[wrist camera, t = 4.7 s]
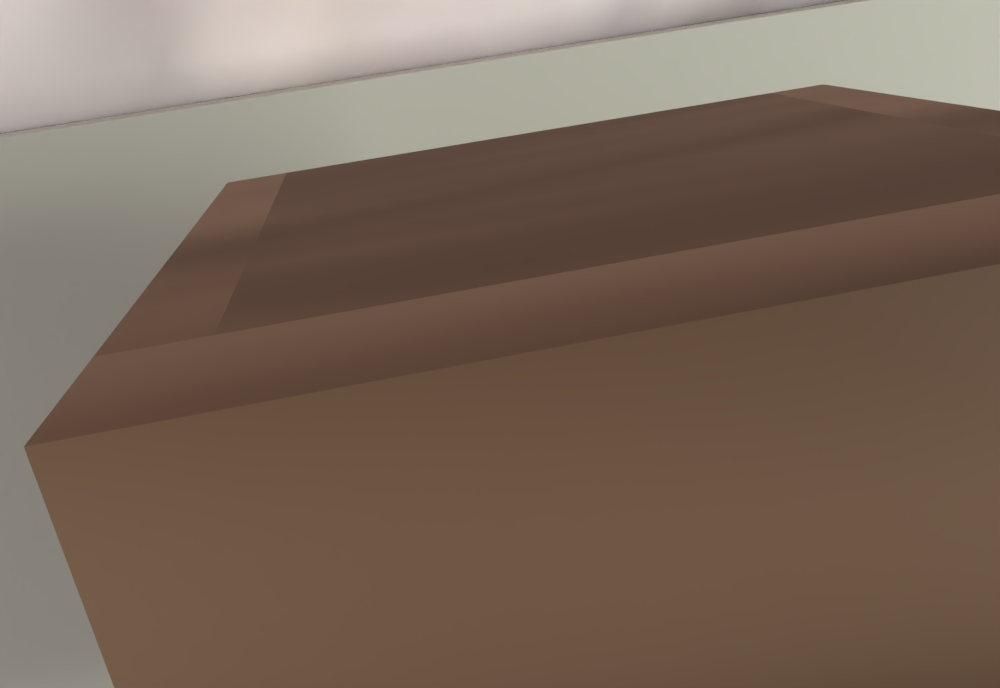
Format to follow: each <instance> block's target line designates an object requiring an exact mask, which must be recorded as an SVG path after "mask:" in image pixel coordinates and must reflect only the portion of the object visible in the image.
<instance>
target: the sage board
mask: <svg viewBox="0 0 1000 688" xmlns="http://www.w3.org/2000/svg"><path fill="white" fill-rule="evenodd" d="M822 84H825V85H831V86H838V87H845V88H851V89H858V90H865V91H871V92H878V93H885V94H891V95H898V96H905V97H911V98H918V99H925V100H932V101H938V102H945V103H952V104H958V105H965V106H972V107H978V108H985V109H992V110H998V111H1000V0H846V1H839V2H833V3H827V4H820V5H814V6H808V7H801V8H795V9H789V10H782V11H776V12H770V13H763V14H757V15H751V16H744V17H738V18H732V19H725V20H719V21H713V22H706V23H700V24H694V25H687V26H681V27H675V28H668V29H662V30H656V31H649V32H643V33H637V34H630V35H624V36H618V37H611V38H605V39H599V40H592V41H586V42H580V43H573V44H567V45H561V46H554V47H548V48H542V49H535V50H529V51H523V52H516V53H510V54H504V55H497V56H491V57H485V58H478V59H472V60H466V61H459V62H453V63H447V64H440V65H434V66H428V67H421V68H415V69H409V70H402V71H396V72H390V73H383V74H377V75H371V76H364V77H358V78H352V79H345V80H339V81H333V82H326V83H320V84H314V85H307V86H301V87H295V88H288V89H282V90H276V91H269V92H263V93H257V94H250V95H244V96H238V97H231V98H225V99H219V100H212V101H206V102H200V103H193V104H187V105H181V106H174V107H168V108H162V109H155V110H149V111H143V112H136V113H130V114H124V115H117V116H111V117H105V118H98V119H92V120H86V121H79V122H73V123H67V124H60V125H54V126H48V127H41V128H35V129H29V130H22V131H16V132H10V133H3V134H0V688H114V686H113V683H112V680H111V678H110V675H109V672H108V670H107V667H106V664H105V662H104V659H103V656H102V654H101V651H100V648H99V646H98V643H97V640H96V638H95V635H94V632H93V630H92V627H91V624H90V622H89V619H88V616H87V614H86V611H85V608H84V606H83V603H82V600H81V598H80V595H79V593H78V590H77V587H76V585H75V582H74V579H73V577H72V574H71V571H70V569H69V566H68V563H67V561H66V558H65V555H64V553H63V550H62V547H61V545H60V542H59V539H58V537H57V534H56V531H55V529H54V526H53V523H52V521H51V518H50V515H49V513H48V510H47V507H46V505H45V502H44V499H43V497H42V494H41V491H40V489H39V486H38V483H37V481H36V478H35V475H34V473H33V470H32V467H31V465H30V462H29V459H28V457H27V454H26V451H25V449H24V446H25V445H26V443H27V442H28V441H29V439H30V438H31V437H32V435H33V434H34V433H35V432H36V430H37V429H38V428H39V426H40V425H41V424H42V422H43V421H44V420H45V419H46V417H47V416H48V415H49V413H50V412H51V411H52V410H53V408H54V407H55V406H56V404H57V403H58V402H59V400H60V399H61V398H62V397H63V395H64V394H65V393H66V391H67V390H68V389H69V387H70V386H71V385H72V384H73V382H74V381H75V380H76V378H77V377H78V376H79V375H80V373H81V372H82V371H83V369H84V368H85V367H86V365H87V364H88V363H89V362H90V360H91V359H92V358H93V356H94V355H95V354H96V352H97V351H98V350H99V349H100V347H101V346H102V345H103V343H104V342H105V341H106V340H107V338H108V337H109V336H110V334H111V333H112V332H113V330H114V329H115V328H116V327H117V325H118V324H119V323H120V321H121V320H122V319H123V317H124V316H125V315H126V314H127V312H128V311H129V310H130V308H131V307H132V306H133V305H134V303H135V302H136V301H137V299H138V298H139V297H140V295H141V294H142V293H143V292H144V290H145V289H146V288H147V286H148V285H149V284H150V282H151V281H152V280H153V279H154V277H155V276H156V275H157V273H158V272H159V271H160V270H161V268H162V267H163V266H164V264H165V263H166V262H167V260H168V259H169V258H170V257H171V255H172V254H173V253H174V251H175V250H176V249H177V247H178V246H179V245H180V244H181V242H182V241H183V240H184V238H185V237H186V236H187V235H188V233H189V232H190V231H191V229H192V228H193V227H194V225H195V224H196V223H197V222H198V220H199V219H200V218H201V216H202V215H203V214H204V212H205V211H206V210H207V209H208V207H209V206H210V205H211V203H212V202H213V201H214V200H215V198H216V197H217V196H218V194H219V193H220V192H221V190H222V189H223V188H224V187H225V185H226V184H227V183H228V182H234V181H240V180H246V179H252V178H258V177H264V176H270V175H276V174H282V173H288V172H294V171H301V170H307V169H313V168H319V167H325V166H331V165H337V164H343V163H349V162H355V161H361V160H367V159H373V158H379V157H385V156H392V155H398V154H404V153H410V152H416V151H422V150H428V149H434V148H440V147H446V146H452V145H458V144H464V143H470V142H476V141H483V140H489V139H495V138H501V137H507V136H513V135H519V134H525V133H531V132H537V131H543V130H549V129H555V128H561V127H567V126H574V125H580V124H586V123H592V122H598V121H604V120H610V119H616V118H622V117H628V116H634V115H640V114H646V113H652V112H658V111H664V110H671V109H677V108H683V107H689V106H695V105H701V104H707V103H713V102H719V101H725V100H731V99H737V98H743V97H749V96H755V95H762V94H768V93H774V92H780V91H786V90H792V89H798V88H804V87H810V86H816V85H822Z"/></svg>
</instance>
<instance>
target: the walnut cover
mask: <svg viewBox="0 0 1000 688" xmlns="http://www.w3.org/2000/svg"><path fill="white" fill-rule="evenodd" d="M24 449H25V451H26V454H27V457H28V459H29V462H30V465H31V467H32V470H33V473H34V475H35V478H36V481H37V483H38V486H39V489H40V491H41V494H42V497H43V499H44V502H45V505H46V507H47V510H48V513H49V515H50V518H51V521H52V523H53V526H54V529H55V531H56V534H57V537H58V539H59V542H60V545H61V547H62V550H63V553H64V555H65V558H66V561H67V563H68V566H69V569H70V571H71V574H72V577H73V579H74V582H75V585H76V587H77V590H78V593H79V595H80V598H81V600H82V603H83V606H84V608H85V611H86V614H87V616H88V619H89V622H90V624H91V627H92V630H93V632H94V635H95V638H96V640H97V643H98V646H99V648H100V651H101V654H102V656H103V659H104V662H105V664H106V667H107V670H108V672H109V675H110V678H111V680H112V683H113V686H114V688H1000V111H998V110H992V109H985V108H978V107H972V106H965V105H958V104H952V103H945V102H938V101H932V100H925V99H918V98H911V97H905V96H898V95H891V94H885V93H878V92H871V91H865V90H858V89H851V88H845V87H838V86H831V85H825V84H822V85H816V86H810V87H804V88H798V89H792V90H786V91H780V92H774V93H768V94H762V95H755V96H749V97H743V98H737V99H731V100H725V101H719V102H713V103H707V104H701V105H695V106H689V107H683V108H677V109H671V110H664V111H658V112H652V113H646V114H640V115H634V116H628V117H622V118H616V119H610V120H604V121H598V122H592V123H586V124H580V125H574V126H567V127H561V128H555V129H549V130H543V131H537V132H531V133H525V134H519V135H513V136H507V137H501V138H495V139H489V140H483V141H476V142H470V143H464V144H458V145H452V146H446V147H440V148H434V149H428V150H422V151H416V152H410V153H404V154H398V155H392V156H385V157H379V158H373V159H367V160H361V161H355V162H349V163H343V164H337V165H331V166H325V167H319V168H313V169H307V170H301V171H294V172H288V173H282V174H276V175H270V176H264V177H258V178H252V179H246V180H240V181H234V182H228V183H227V184H226V185H225V187H224V188H223V189H222V190H221V192H220V193H219V194H218V196H217V197H216V198H215V200H214V201H213V202H212V203H211V205H210V206H209V207H208V209H207V210H206V211H205V212H204V214H203V215H202V216H201V218H200V219H199V220H198V222H197V223H196V224H195V225H194V227H193V228H192V229H191V231H190V232H189V233H188V235H187V236H186V237H185V238H184V240H183V241H182V242H181V244H180V245H179V246H178V247H177V249H176V250H175V251H174V253H173V254H172V255H171V257H170V258H169V259H168V260H167V262H166V263H165V264H164V266H163V267H162V268H161V270H160V271H159V272H158V273H157V275H156V276H155V277H154V279H153V280H152V281H151V282H150V284H149V285H148V286H147V288H146V289H145V290H144V292H143V293H142V294H141V295H140V297H139V298H138V299H137V301H136V302H135V303H134V305H133V306H132V307H131V308H130V310H129V311H128V312H127V314H126V315H125V316H124V317H123V319H122V320H121V321H120V323H119V324H118V325H117V327H116V328H115V329H114V330H113V332H112V333H111V334H110V336H109V337H108V338H107V340H106V341H105V342H104V343H103V345H102V346H101V347H100V349H99V350H98V351H97V352H96V354H95V355H94V356H93V358H92V359H91V360H90V362H89V363H88V364H87V365H86V367H85V368H84V369H83V371H82V372H81V373H80V375H79V376H78V377H77V378H76V380H75V381H74V382H73V384H72V385H71V386H70V387H69V389H68V390H67V391H66V393H65V394H64V395H63V397H62V398H61V399H60V400H59V402H58V403H57V404H56V406H55V407H54V408H53V410H52V411H51V412H50V413H49V415H48V416H47V417H46V419H45V420H44V421H43V422H42V424H41V425H40V426H39V428H38V429H37V430H36V432H35V433H34V434H33V435H32V437H31V438H30V439H29V441H28V442H27V443H26V445H25V446H24Z"/></svg>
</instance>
